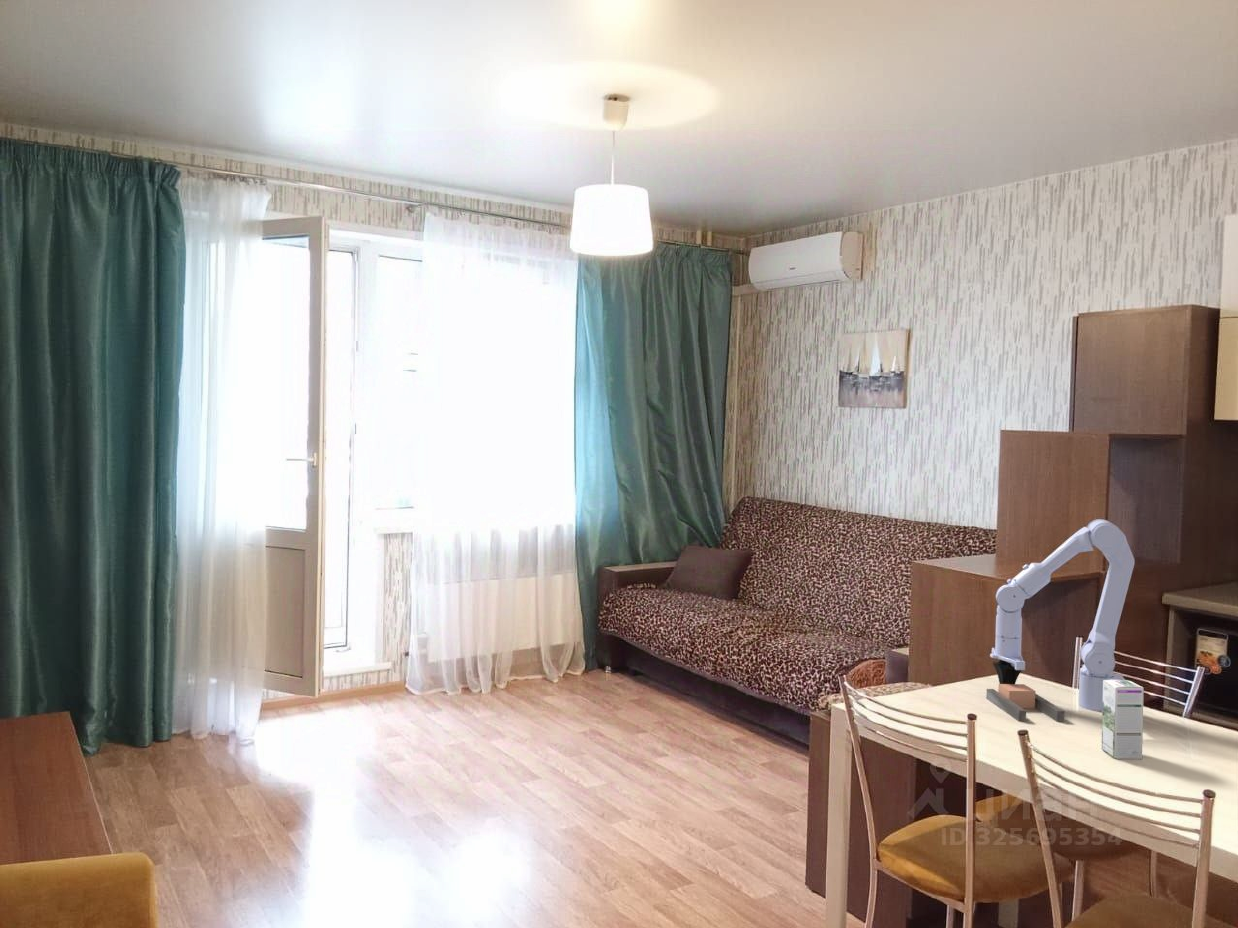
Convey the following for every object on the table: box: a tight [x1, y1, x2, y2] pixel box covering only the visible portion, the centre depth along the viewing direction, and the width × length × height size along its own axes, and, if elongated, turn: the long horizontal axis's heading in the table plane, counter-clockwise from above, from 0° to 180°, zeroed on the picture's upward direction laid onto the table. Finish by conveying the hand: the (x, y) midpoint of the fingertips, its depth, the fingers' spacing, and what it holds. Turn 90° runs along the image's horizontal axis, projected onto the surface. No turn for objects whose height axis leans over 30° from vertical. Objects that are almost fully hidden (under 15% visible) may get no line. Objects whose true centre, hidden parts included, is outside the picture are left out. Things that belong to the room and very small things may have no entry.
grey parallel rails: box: [985, 688, 1066, 723], centre depth 224 cm, size 12×24×4 cm, turn 1°
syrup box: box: [1101, 679, 1145, 760], centre depth 197 cm, size 6×6×14 cm
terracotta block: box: [997, 683, 1036, 710], centre depth 228 cm, size 6×6×4 cm
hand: (1006, 693), depth 233 cm, fingers closed
